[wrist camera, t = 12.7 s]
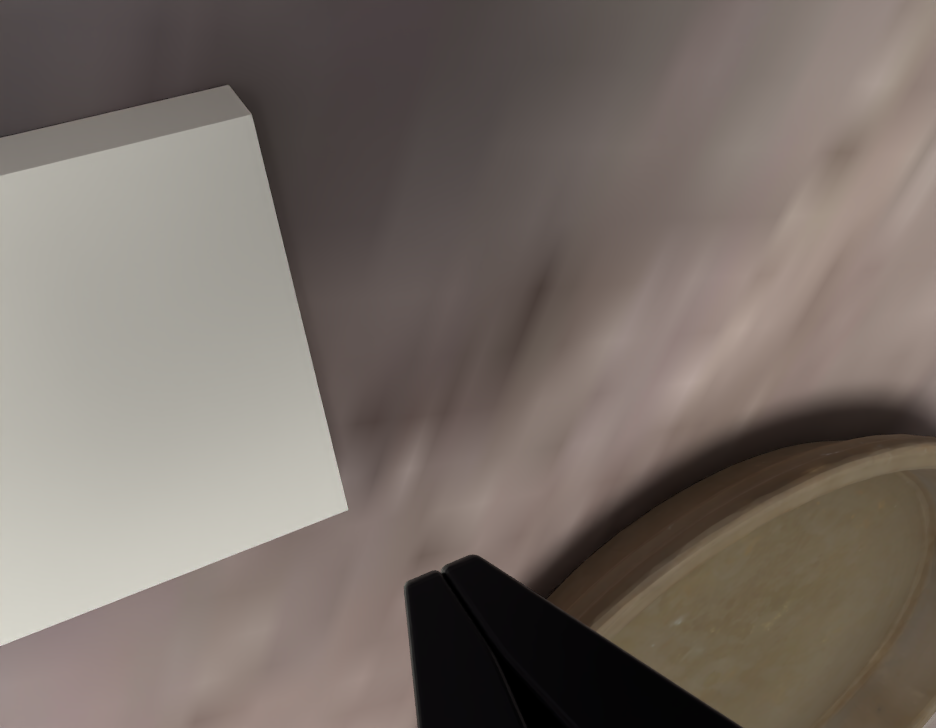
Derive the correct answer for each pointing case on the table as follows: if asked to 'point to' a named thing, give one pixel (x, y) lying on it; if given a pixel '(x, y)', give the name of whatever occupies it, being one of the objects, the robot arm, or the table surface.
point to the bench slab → (147, 359)
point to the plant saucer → (784, 586)
